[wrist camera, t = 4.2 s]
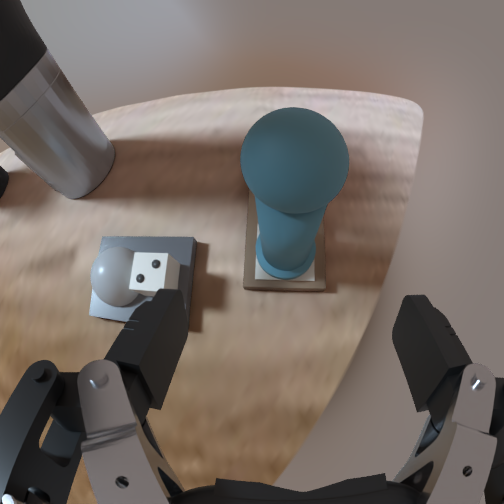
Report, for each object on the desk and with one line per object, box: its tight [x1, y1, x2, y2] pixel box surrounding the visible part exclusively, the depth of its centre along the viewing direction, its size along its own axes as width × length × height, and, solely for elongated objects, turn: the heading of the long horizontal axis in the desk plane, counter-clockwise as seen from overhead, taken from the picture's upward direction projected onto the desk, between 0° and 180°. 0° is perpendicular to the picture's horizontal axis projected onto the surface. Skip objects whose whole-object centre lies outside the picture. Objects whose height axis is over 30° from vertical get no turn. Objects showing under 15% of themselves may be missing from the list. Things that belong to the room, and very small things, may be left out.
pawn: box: [240, 107, 349, 280], centre depth 16 cm, size 5×5×14 cm
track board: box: [243, 189, 326, 291], centre depth 25 cm, size 7×16×1 cm, turn 177°
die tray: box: [89, 237, 197, 328], centre depth 23 cm, size 10×8×6 cm
